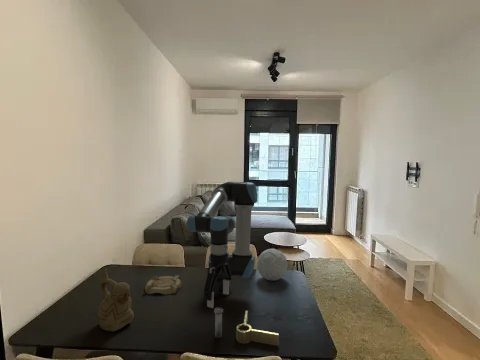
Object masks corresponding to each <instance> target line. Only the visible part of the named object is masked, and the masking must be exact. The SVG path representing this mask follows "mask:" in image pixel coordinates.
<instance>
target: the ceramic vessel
mask: <svg viewBox="0 0 480 360" xmlns="http://www.w3.org/2000/svg"><path fill="white" fill-rule="evenodd" d="M99 274H100V276H101V277H100V278H101V280H100V283H99V284H100V285H99V289H100V292H101V294H102V296H103V298H104V299H103V300H102V301H101V302H100V304H99V306H98V309H97V316H96V317H97V318H98V326H99V327H100V329H102V330H103V331H106V332H112V333H113V332H116V331H119V330H121V329H122V328H123V327H125V326H127V325H128V324H130V323H131V322H132V321H133V320H134V317H135V314H134V311H133V310H132V309H131V307H132V304H133V303H132V297H131V293H130V287H131V286H130V285H129V283H127V282H125V281H121V282H120V281H119V282H117V281H115V280H113V279H112V278H109V276H108V270H107V268H105V269H101V270H100V271H99ZM107 285H109V286H110V287H111V288H112V291H111V292H110V291H109V290H108V288H107Z"/></svg>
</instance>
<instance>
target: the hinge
mask: <svg viewBox="0 0 480 360" xmlns="http://www.w3.org/2000/svg"><path fill="white" fill-rule="evenodd" d="M248 317H249V310H245V314H244V319H243V323H240V324H238V325H236V329H235V340H236V342H238V343H239V344H244V345H245V344H249V343H251V342H255V343H261V344H266V345H271V346H276V347H279V333H278V332H272V331H271V332H270V331H267V330H266V331H265V330H259V329H255V328H254V329H253V328H252V326H251V325H250V324H248V321H249V320H248V319H249V318H248Z"/></svg>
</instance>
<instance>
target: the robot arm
mask: <svg viewBox="0 0 480 360" xmlns="http://www.w3.org/2000/svg"><path fill="white" fill-rule="evenodd" d="M226 202H227V203H228V202H232V203H234V204H233V206H235V208H236V213H235V214H236V216H235V217H236V218H233V217H232V216H230V215H226V216H216V214H217V213H218V211H219V210H220V208H221V207H222V205H223V204H226ZM257 202H258V191H257V185H256V183H254V182H248V181H227V182H223V183H222V184H220V185H218V186H217V187H215V188H214V189H213V191H212V192H211V195H210V197H209V199H208V200H207V201H206V203H205V204H204V205H203V206H202V207H201V208H200V210H199V211H198V213H197V214H196V215H189V216H188V217H187V220H186V228H187V230H188V231H189V232H195V233H207V234H208V233H209V234H210V235H209V236H210V245H209V246H210V247H209V250H210V251H209V252H210V254H209V256H208V269H207V276H206V281H205V285H204V288H203V289H204V290H203V293H204V294H205V293H206V307H208V308H211V309H214V306H215V305H214V304H215V303H214V302H215V300H214V299H215V298H214V297H216V298H220V297H226V296H228V295H230V294H231V293H232V285H231V282H230V281H232V277H237V278H238V277H239V278H251V276H252V274H253V273H254V269H255V265H256V258H255V257H254V256H253V253H252V252H251V250H250V248H251V246H250V245H251V232H252V231H251V227H252V225H251V224H252V223H251V222H252V208H254V207H255V204H257ZM234 229H235V235H234V237H235V240H234V241H235V242H234V249H233V251H232V252H231V254H230V253H229V251H228V250H229V246H228V244H229V243H228V240H229V234H230V233H232V232H233V231H234Z"/></svg>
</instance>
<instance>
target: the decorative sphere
mask: <svg viewBox="0 0 480 360" xmlns="http://www.w3.org/2000/svg"><path fill="white" fill-rule="evenodd" d="M288 267H289V266H288V259H287V257H286V256H285V254H284V253H283V252H282V251H280V250H279V249H276V248H268V249H265V250H264V251H262V252H261V253H260V254H259V255H258V258H257V261H256V269H257V271H258V274H259V275H260V276H261V277H262V278H263V279H265V280H268V281H272V282H273V281H278V280H280V279H282V278H283V277H284V276H285V275H286V273H287V271H288Z"/></svg>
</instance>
